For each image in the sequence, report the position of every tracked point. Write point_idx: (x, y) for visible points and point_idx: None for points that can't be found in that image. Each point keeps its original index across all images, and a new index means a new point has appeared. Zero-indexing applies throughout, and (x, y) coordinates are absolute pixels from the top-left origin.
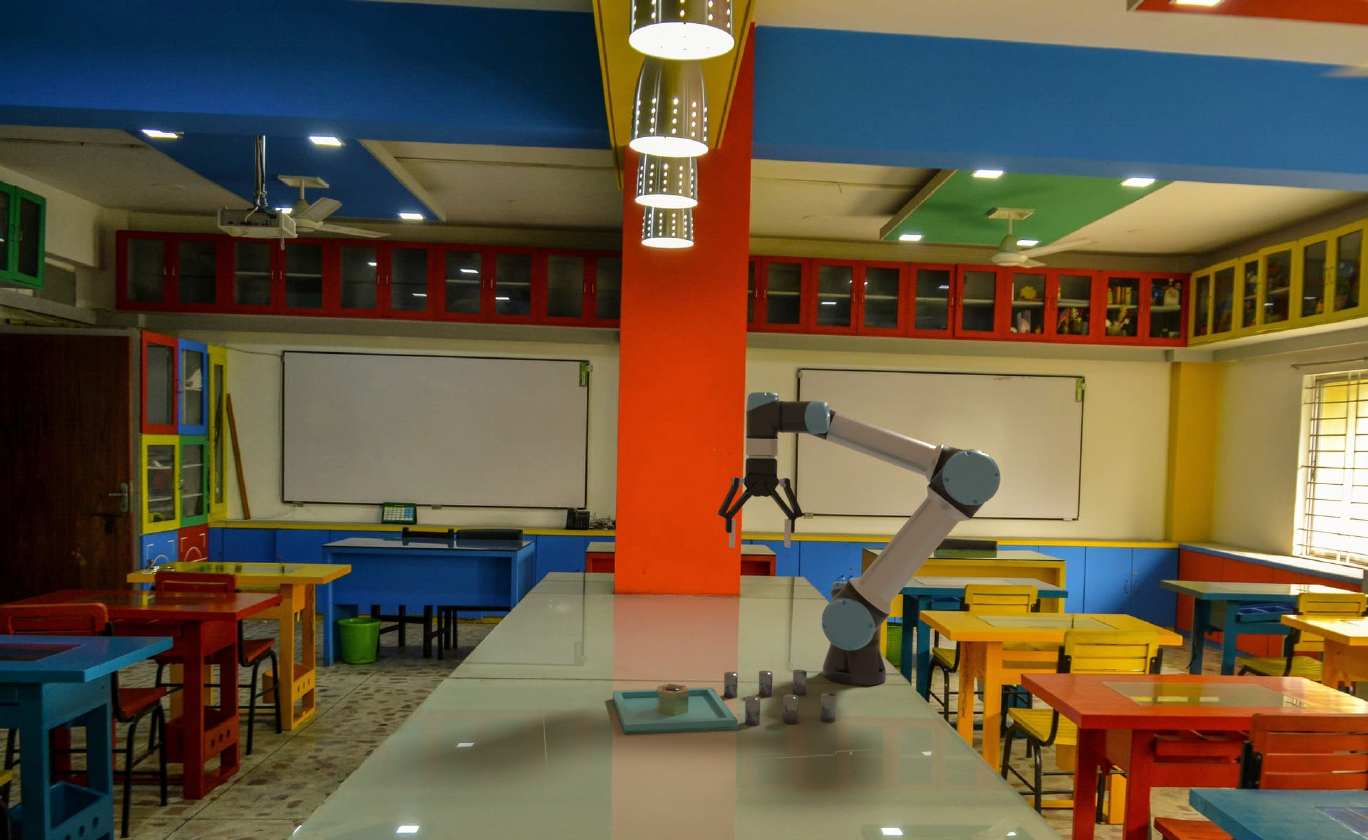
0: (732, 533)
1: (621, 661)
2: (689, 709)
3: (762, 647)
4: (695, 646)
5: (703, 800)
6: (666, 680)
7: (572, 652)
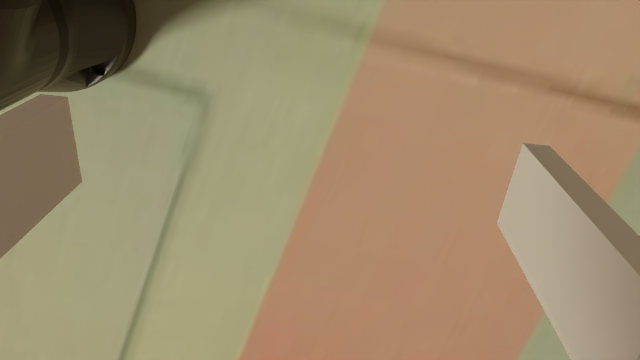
0: (607, 206)
1: None
2: None
3: (212, 283)
4: (355, 315)
5: None
6: (538, 83)
7: None
